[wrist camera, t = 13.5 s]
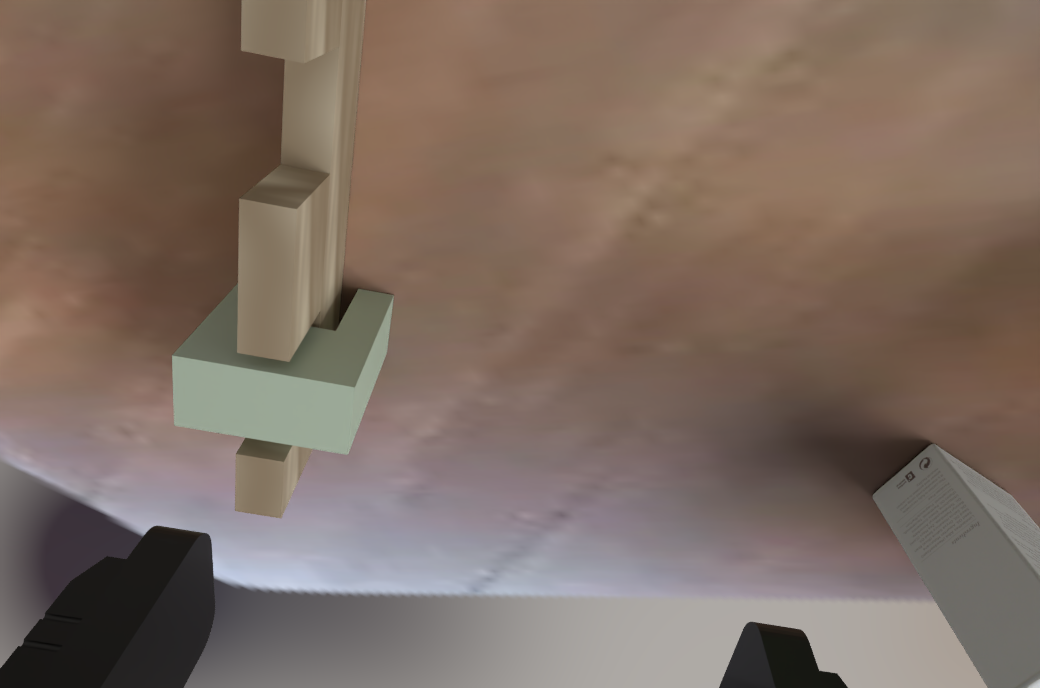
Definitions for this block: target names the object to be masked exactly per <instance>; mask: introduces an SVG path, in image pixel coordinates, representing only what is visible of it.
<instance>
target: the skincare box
mask: <svg viewBox="0 0 1040 688" xmlns="http://www.w3.org/2000/svg"><path fill="white" fill-rule="evenodd" d="M872 498H873V500H874V501H875V503H876V505H877V506H878V508H879V509H880V511H881V513H882V515H883V516H884V518H885V519H886V521H887V523H888V524H889V526H890V528H891V529H892V531H893V533H894V534H895V536H896V537H897V539H898V541H899V542H900V544H901V545H902V547H903V549H904V551H905V552H906V554H907V555H908V557H909V559H910V561H911V562H912V564H913V565H914V567H915V569H916V571H917V572H918V574H919V576H920V577H921V579H922V581H923V582H924V584H925V585H926V587H927V589H928V590H929V592H930V593H931V595H932V597H933V598H934V600H935V602H936V603H937V605H938V607H939V608H940V610H941V611H942V613H943V615H944V616H945V618H946V620H947V621H948V623H949V625H950V626H951V628H952V630H953V631H954V633H955V634H956V636H957V638H958V639H959V641H960V643H961V644H962V646H963V647H964V649H965V651H966V653H967V654H968V656H969V657H970V659H971V661H972V662H973V664H974V666H975V667H976V669H977V671H978V672H979V674H980V676H981V677H982V678H983V681H984V682H985V684H986V685H987V687H988V688H1040V528H1039V527H1038V526H1037V525H1036V524H1035V522H1034V521H1033V520H1032V519H1031V518H1030V516H1029V515H1028V514H1027V513H1026V512H1025V511H1024V509H1023V508H1022V507H1021V506H1020V505H1019V504H1018V502H1017V501H1016V500H1015V499H1014V498H1013V497H1012V495H1010V494H1009V493H1007V492H1006V491H1004V490H1003V489H1001V488H1000V487H998V486H997V485H995V484H994V483H992V482H991V481H989V480H988V479H986V478H985V477H983V476H982V475H980V474H979V473H977V472H976V471H974V470H973V469H971V468H970V467H968V466H967V465H965V464H964V463H962V462H961V461H959V460H958V459H956V458H955V457H953V456H952V455H950V454H949V453H947V452H946V451H944V450H943V449H941V448H940V447H938V446H937V445H935V444H931V445H930V446H928V447H927V448H926V449H925V450H924V451H922V452H921V453H920V454H919V455H918V456H916V457H915V458H914V459H913V460H912V461H911V462H910V463H909V464H908V465H906V466H905V467H904V468H903V469H902V470H901V471H899V472H898V473H897V474H896V475H895V476H894V477H893V478H891V479H890V480H889V481H888V482H887V483H885V484H884V485H883V486H882V487H881V488H880V489H878V490H877V491H876V492H875V493H874V494H873V496H872Z"/></svg>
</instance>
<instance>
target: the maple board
mask: <svg viewBox="0 0 1040 688" xmlns="http://www.w3.org/2000/svg"><path fill="white" fill-rule="evenodd" d="M365 7H366V0H242V13H241V51H245V52H250V53H255V54H260V55H265V56H270V57H275V58H280V59H285V66H284V91H283V117H282V143H281V165H279V166H278V167H277V168H276V169H274V170H273V171H272V172H271V173H270V174H268V175H267V176H266V177H265V178H264V179H262V180H261V181H260V182H259V183H257V184H256V185H255V186H254V187H253V188H251V189H250V190H249V191H248V192H246V193H245V194H244V195H243V196H242V197H240V198H239V247H238V325H237V353H241V354H246V355H252V356H258V357H264V358H269V359H275V360H281V361H286V362H289V361H290V360H291V358H292V356H293V355H294V353H295V352H296V350H297V348H298V347H299V345H300V343H301V342H302V340H303V338H304V337H305V335H306V334H307V332H308V330H309V329H310V327H317V328H322V329H328V330H333V331H336V330H337V328H338V326H339V314H340V302H341V291H342V279H343V267H344V255H345V243H346V232H347V220H348V208H349V196H350V184H351V173H352V161H353V149H354V137H355V125H356V114H357V102H358V90H359V78H360V66H361V54H362V43H363V31H364V19H365ZM312 450H313V449H310V448H304V447H299V446H293V445H287V444H281V443H275V442H269V441H263V440H257V439H251V438H245V440H244V441H243V443H242V445H241V446H240V448H239V450H238V451H237V453H236V481H235V511H239V512H245V513H251V514H257V515H264V516H270V517H276V518H282V515H283V513H284V511H285V509H286V507H287V504H288V502H289V500H290V498H291V496H292V494H293V491H294V489H295V487H296V485H297V483H298V480H299V478H300V476H301V474H302V472H303V469H304V467H305V465H306V463H307V461H308V458H309V456H310V454H311V452H312Z"/></svg>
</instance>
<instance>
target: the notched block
mask: <svg viewBox="0 0 1040 688" xmlns="http://www.w3.org/2000/svg"><path fill="white" fill-rule="evenodd" d="M393 299H394V295H390V294H385V293H379V292H374V291H368V290H363V289H358V291H357V293H356V294H355V296H354V298H353V300H352V302H351V304H350V306H349V307H348V309H347V311H346V313H345V315H344V317H343V319H342V320H341V322H340V324H339V326H338V328H337V330H336V331H333V330H328V329H322V328H317V327H310V329H309V330H308V332H307V334H306V335H305V337H304V338H303V340H302V342H301V343H300V345H299V347H298V348H297V350H296V352H295V353H294V355H293V356H292V358H291V360H290V361H289V362H286V361H281V360H275V359H269V358H264V357H258V356H252V355H246V354H241V353H237V325H238V284H237V285H236V286H235V287H234V288H233V289H232V290H231V291H230V292H229V293H228V295H227V296H226V297H225V298H224V299H223V300H222V301H221V302H220V303H219V304H218V306H217V307H216V308H215V309H214V310H213V311H212V312H211V313H210V314H209V315H208V316H207V318H206V319H205V320H204V321H203V322H202V323H201V324H200V325H199V326H198V327H197V329H196V330H195V331H194V332H193V333H192V334H191V335H190V336H189V337H188V338H187V340H186V341H185V342H184V343H183V344H182V345H181V346H180V347H179V348H178V349H177V350H176V352H175V353H174V354H173V355H172V371H173V402H174V426H180V427H186V428H192V429H198V430H204V431H210V432H216V433H222V434H228V435H233V436H239V437H245V438H251V439H257V440H263V441H269V442H275V443H281V444H287V445H293V446H299V447H304V448H310V449H316V450H322V451H328V452H334V453H340V454H346V455H348V453H349V451H350V448H351V445H352V443H353V440H354V437H355V435H356V432H357V430H358V427H359V424H360V422H361V419H362V417H363V414H364V411H365V409H366V406H367V403H368V401H369V398H370V396H371V393H372V390H373V388H374V385H375V382H376V380H377V377H378V375H379V372H380V369H381V367H382V364H383V361H384V359H385V356H386V354H387V348H388V340H389V331H390V323H391V315H392V307H393Z"/></svg>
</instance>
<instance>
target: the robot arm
mask: <svg viewBox="0 0 1040 688" xmlns="http://www.w3.org/2000/svg"><path fill="white" fill-rule="evenodd" d="M214 614H215V595H214V578H213V561H212V544H211V539H210V536H209V535H208V534H207V533H200V532H194V531H188V530H181V529H175V528H169V527H163V526H154V527H152V528H151V529H150V530H149V531H148V532H147V533H146V534H145V535H144V536H143V538H142V539H141V541H140V542H139V543H138V545H137V546H136V547H135V549H134V550H133V551H132V553H131V554H130V556H129V557H128V558H127V559H120V558H114V557H108V556H107V557H105V558H104V559H103V560H101V561H100V562H98V563H97V564H95V565H94V566H92V567H91V568H90V569H88V570H86V571H85V572H83V573H82V574H81V575H79V576H78V577H76V578H75V579H73V580H72V581H70V583H69V584H68V585H67V586H66V588H65V589H64V590H63V591H62V593H61V594H60V595H59V596H58V598H57V599H56V600H55V601H54V603H53V604H52V605H51V606H50V608H49V609H48V610H47V611H46V613H45V617H44V619H43V620H42V619H40V620H39V621H38V623H37V624H36V625H35V626H34V627H33V629H32V630H31V631H30V632H29V634H28V635H27V636H26V637H25V639H24V643H23V645H22V646H21V647H20V646H18V647H17V649H16V650H15V651H14V652H13V654H12V655H11V656H10V657H9V659H8V660H7V661H6V662H5V664H4V665H3V666H2V667H1V668H0V688H184V686H185V684H186V682H187V680H188V678H189V676H190V674H191V672H192V671H193V669H194V667H195V665H196V663H197V661H198V660H199V658H200V656H201V654H202V652H203V650H204V648H205V646H206V643H207V641H208V638H209V635H210V632H211V628H212V624H213V620H214ZM719 688H848V687H847V686H846V685H845V683H844V682H843V681H842V679H841V678H840V677H839V676H838V674H836V673H830V672H823V671H819V669H818V666H817V663H816V661H815V658H814V655H813V652H812V649H811V646H810V643H809V641H808V639H807V636H806V635H805V633H804V632H803V631H802V630H799V629H794V628H787V627H781V626H774V625H767V624H762V623H756V622H749V623H747V624H746V626H745V627H744V629H743V631H742V634H741V636H740V638H739V641H738V643H737V646H736V648H735V650H734V653H733V655H732V658H731V660H730V662H729V665H728V667H727V670H726V672H725V674H724V677H723V680H722V682H721V684H720V687H719Z"/></svg>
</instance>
